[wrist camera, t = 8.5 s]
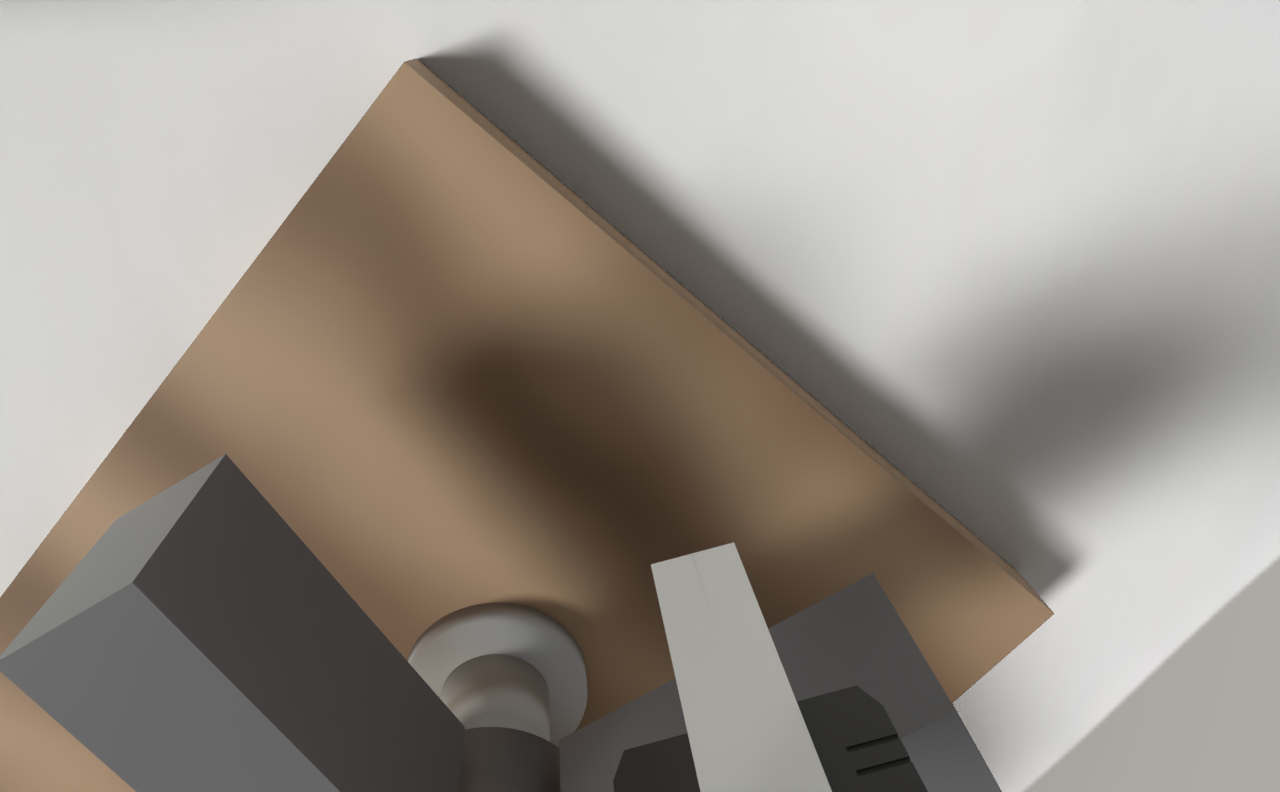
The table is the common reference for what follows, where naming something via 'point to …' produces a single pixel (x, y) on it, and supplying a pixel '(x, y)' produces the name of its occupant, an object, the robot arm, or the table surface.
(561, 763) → the grey bar cross
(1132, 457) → the table surface
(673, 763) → the robot arm
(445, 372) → the stud base
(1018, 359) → the table surface
